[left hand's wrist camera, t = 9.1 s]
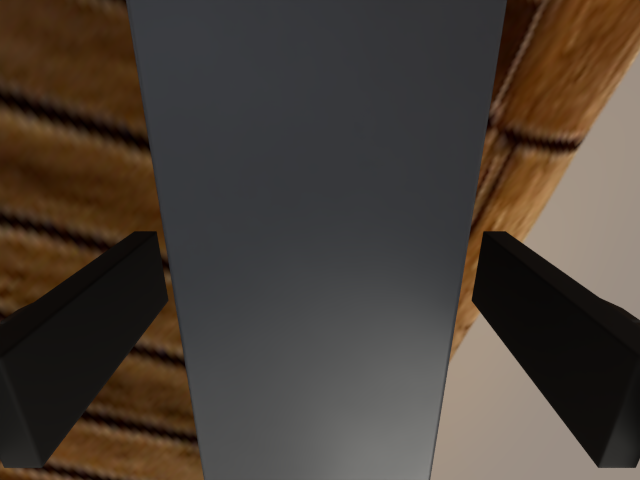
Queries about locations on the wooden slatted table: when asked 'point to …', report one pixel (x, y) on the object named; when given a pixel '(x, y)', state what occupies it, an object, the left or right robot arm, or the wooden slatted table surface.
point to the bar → (316, 219)
